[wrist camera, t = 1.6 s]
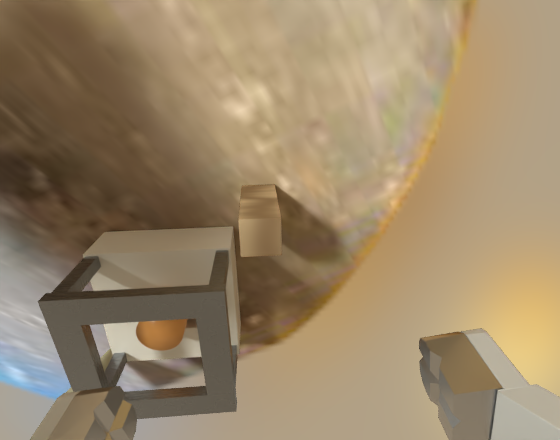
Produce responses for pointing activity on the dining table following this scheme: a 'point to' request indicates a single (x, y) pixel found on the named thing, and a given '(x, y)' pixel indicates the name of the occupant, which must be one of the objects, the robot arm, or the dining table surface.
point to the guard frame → (139, 308)
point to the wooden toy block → (259, 221)
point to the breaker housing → (163, 278)
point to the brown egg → (161, 333)
